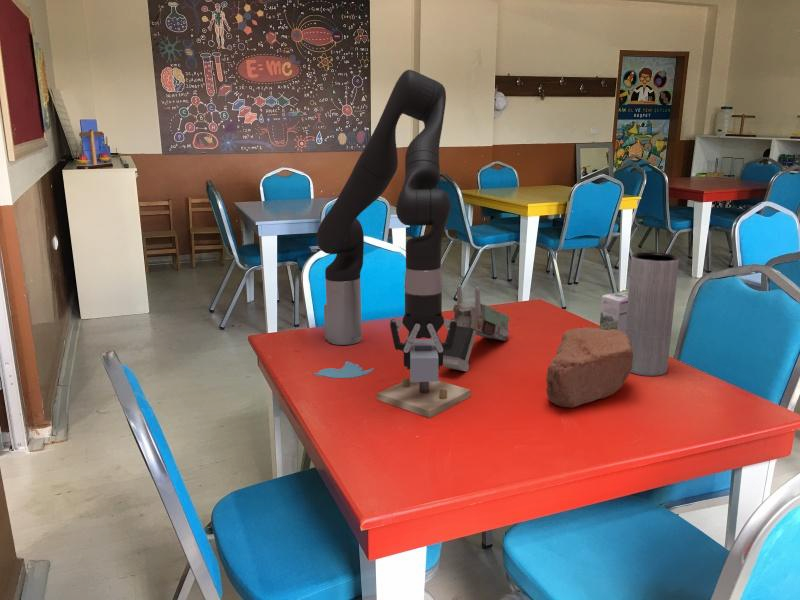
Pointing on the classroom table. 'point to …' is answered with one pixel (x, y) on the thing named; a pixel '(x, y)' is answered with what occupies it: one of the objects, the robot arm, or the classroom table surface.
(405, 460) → the classroom table surface
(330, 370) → the decorative object
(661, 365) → the vase
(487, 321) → the ray gun
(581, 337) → the stone
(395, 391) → the post base
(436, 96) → the robot arm
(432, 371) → the grey rectangular block
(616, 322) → the syrup box
